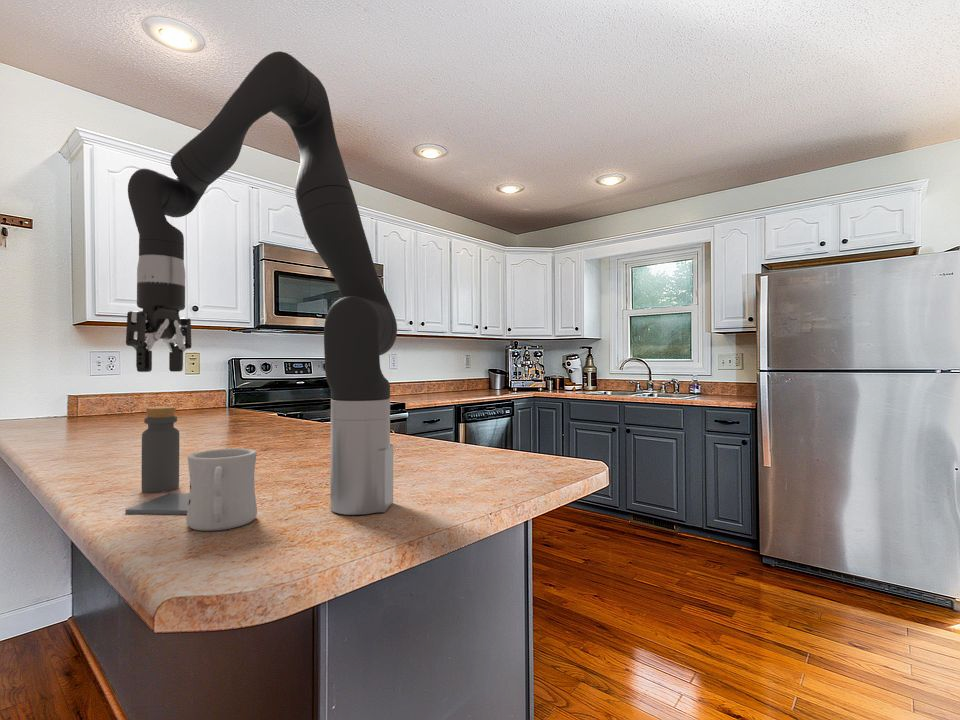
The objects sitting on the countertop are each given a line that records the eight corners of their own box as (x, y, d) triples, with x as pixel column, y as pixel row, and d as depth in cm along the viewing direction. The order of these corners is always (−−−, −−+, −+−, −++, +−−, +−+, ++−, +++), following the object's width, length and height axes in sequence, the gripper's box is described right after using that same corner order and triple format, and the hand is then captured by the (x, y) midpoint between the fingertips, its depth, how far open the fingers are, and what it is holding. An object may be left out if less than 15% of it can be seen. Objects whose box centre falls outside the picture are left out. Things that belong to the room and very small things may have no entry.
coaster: (225, 497, 87) (225, 493, 87) (188, 514, 77) (188, 510, 77) (168, 496, 88) (168, 493, 88) (125, 513, 78) (125, 509, 78)
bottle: (161, 494, 89) (161, 408, 90) (133, 492, 91) (133, 408, 91) (186, 486, 95) (187, 406, 95) (160, 484, 96) (160, 405, 97)
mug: (191, 517, 76) (191, 450, 76) (258, 510, 79) (258, 446, 79) (176, 544, 64) (176, 465, 64) (255, 535, 68) (255, 460, 68)
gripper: (154, 276, 86) (153, 372, 86) (204, 289, 100) (203, 371, 100) (111, 276, 86) (111, 372, 86) (167, 289, 101) (166, 371, 100)
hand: (160, 371), depth 93 cm, fingers open, 8 cm apart
